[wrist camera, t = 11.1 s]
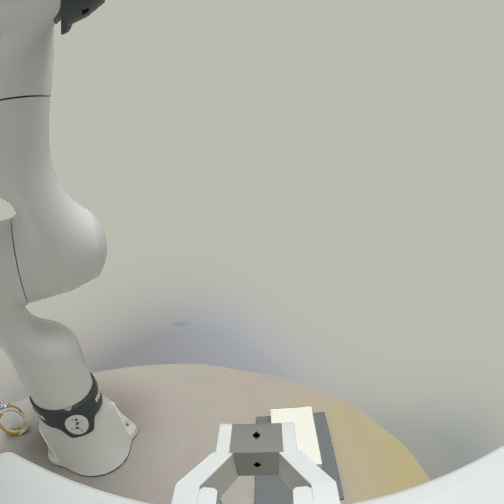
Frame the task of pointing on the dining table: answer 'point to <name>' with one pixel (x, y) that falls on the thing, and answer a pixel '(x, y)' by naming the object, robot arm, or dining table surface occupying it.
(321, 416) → the mat
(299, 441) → the tile
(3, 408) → the ring
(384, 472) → the dining table surface
